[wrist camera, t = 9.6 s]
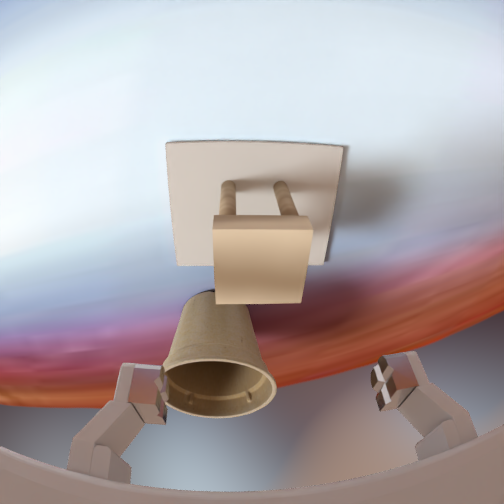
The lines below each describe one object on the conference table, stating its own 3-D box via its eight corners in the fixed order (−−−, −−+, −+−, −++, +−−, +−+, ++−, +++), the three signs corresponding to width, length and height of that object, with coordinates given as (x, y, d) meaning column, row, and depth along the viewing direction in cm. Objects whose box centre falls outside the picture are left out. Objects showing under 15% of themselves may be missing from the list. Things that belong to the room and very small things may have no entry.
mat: (166, 142, 20) (165, 143, 19) (341, 146, 20) (343, 147, 20) (177, 262, 25) (177, 265, 25) (322, 262, 26) (323, 265, 26)
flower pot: (286, 297, 28) (301, 377, 21) (238, 354, 33) (241, 425, 26) (188, 259, 25) (175, 343, 18) (155, 327, 30) (141, 402, 23)
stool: (218, 177, 21) (212, 229, 15) (290, 178, 21) (313, 229, 15) (219, 239, 24) (215, 304, 18) (284, 239, 24) (301, 302, 18)
